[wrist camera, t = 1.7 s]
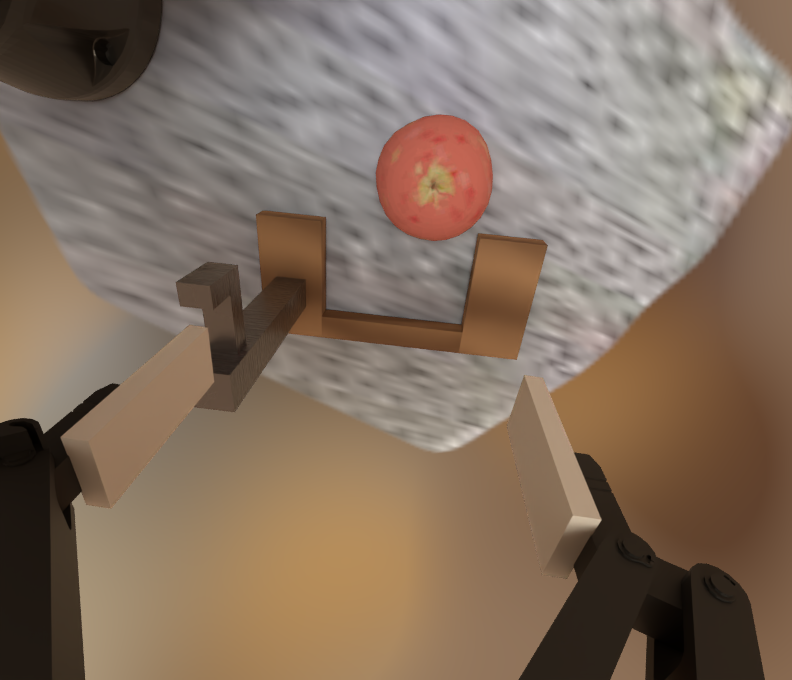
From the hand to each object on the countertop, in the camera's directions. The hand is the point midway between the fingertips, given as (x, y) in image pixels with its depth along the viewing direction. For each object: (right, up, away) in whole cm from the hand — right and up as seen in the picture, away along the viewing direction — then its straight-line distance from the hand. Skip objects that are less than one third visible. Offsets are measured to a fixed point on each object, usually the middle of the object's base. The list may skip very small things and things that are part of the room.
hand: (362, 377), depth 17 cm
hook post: (-7, +8, +15) cm, 19 cm away
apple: (+4, +14, +13) cm, 19 cm away
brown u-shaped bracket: (+1, +6, +17) cm, 18 cm away
